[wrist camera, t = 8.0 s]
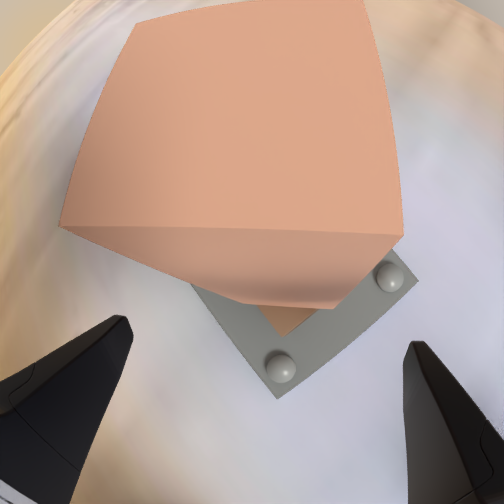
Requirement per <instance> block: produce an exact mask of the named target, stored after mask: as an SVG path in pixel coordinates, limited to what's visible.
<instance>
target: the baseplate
mask: <svg viewBox="0 0 504 504" xmlns="http://www.w3.org/2000/svg"><path fill="white" fill-rule="evenodd" d="M418 281H419V280H418V279H417V278H416V277H415V276H414V274H413V273H412V272H411V271H410V269H409V268H408V267H407V266H406V265H405V263H404V262H403V261H402V260H401V259H400V258H399V256H398V255H397V254H396V253H395V252H394V251H393V249H391V250H390V251H389V252H388V253H387V254H386V255H385V256H384V257H383V259H382V260H381V261H380V262H379V263H378V264H377V265H376V266H375V267H374V268H373V269H372V270H371V271H370V272H369V273H368V274H367V276H366V277H365V278H364V279H363V280H362V281H361V282H360V283H359V284H358V285H357V286H356V287H355V288H354V289H353V290H352V291H351V292H350V293H349V294H348V295H347V296H346V297H345V298H344V299H343V300H342V301H341V302H340V303H339V304H338V305H337V306H336V307H335V308H334V309H319V310H318V311H317V312H315V313H314V314H313V315H312V316H310V317H309V318H308V319H307V320H305V321H304V322H303V323H302V324H301V325H299V326H298V327H297V328H295V329H294V330H293V331H292V332H290V333H289V334H288V335H287V336H284V337H281V336H280V335H279V333H278V332H277V331H276V330H275V328H274V327H273V326H272V325H271V323H270V322H269V321H268V320H267V318H266V317H265V316H264V314H263V313H262V312H261V311H260V309H259V308H258V307H257V305H255V304H243V303H240V302H237V301H235V300H232V299H229V298H227V297H224V296H221V295H219V294H216V293H214V292H211V291H209V290H206V289H203V288H201V287H198V286H196V285H193V284H191V283H190V284H191V285H192V287H193V288H194V290H195V291H196V292H197V294H198V295H199V297H200V298H201V299H202V301H203V302H204V304H205V305H206V306H207V308H208V309H209V311H210V312H211V313H212V315H213V316H214V318H215V319H216V320H217V322H218V323H219V324H220V326H221V327H222V329H223V330H224V331H225V333H226V334H227V335H228V337H229V338H230V339H231V341H232V342H233V343H234V345H235V346H236V347H237V349H238V350H239V351H240V353H241V354H242V355H243V357H244V358H245V359H246V361H247V362H248V363H249V364H250V366H251V367H252V368H253V370H254V371H255V372H256V373H257V375H258V376H259V377H260V379H261V380H262V381H263V382H264V384H265V385H266V386H267V387H268V389H269V390H270V391H271V392H272V394H273V395H274V396H275V397H276V399H279V398H280V397H282V396H283V395H284V394H286V393H287V392H289V391H290V390H291V389H293V388H294V387H295V386H297V385H298V384H300V383H301V382H302V381H304V380H305V379H306V378H308V377H309V376H310V375H312V374H313V373H314V372H315V371H317V370H318V369H319V368H321V367H322V366H323V365H324V364H326V363H327V362H328V361H330V360H331V359H332V358H333V357H335V356H336V355H337V354H338V353H339V352H341V351H342V350H343V349H344V348H346V347H347V346H348V345H349V344H350V343H352V342H353V341H354V340H355V339H356V338H357V337H359V336H360V335H361V334H362V333H363V332H364V331H366V330H367V329H368V328H369V327H370V326H371V325H372V324H374V323H375V322H376V321H377V320H378V319H379V318H380V317H381V316H382V315H384V314H385V313H386V312H387V311H388V310H389V309H390V308H391V307H392V306H393V305H394V304H395V303H397V302H398V301H399V300H400V299H401V298H402V297H403V296H404V295H405V294H406V293H407V292H408V291H409V290H410V289H411V288H412V287H413V286H414V285H415V284H416V283H417V282H418Z"/></svg>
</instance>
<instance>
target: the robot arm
mask: <svg viewBox="0 0 504 504" xmlns="http://www.w3.org/2000/svg"><path fill="white" fill-rule="evenodd" d="M132 342H133V332H132V329H131V327H130V324H129V321H128V319H127V318H126V316H122V315H113V316H112V317H110V318H108V319H107V320H105V321H103V322H101V323H100V324H98V325H96V326H95V327H93V328H91V329H90V330H88V331H86V332H85V333H83V334H81V335H80V336H78V337H76V338H74V339H73V340H71V341H69V342H68V343H66V344H64V345H63V346H61V347H59V348H58V349H56V350H54V351H53V352H51V353H49V354H48V355H46V356H44V357H43V358H41V359H39V360H38V361H36V362H34V363H33V364H31V365H30V366H28V367H26V368H24V369H23V370H21V371H19V372H18V373H16V374H14V375H12V376H10V377H8V378H6V379H4V380H2V381H0V504H69V503H70V501H71V498H72V495H73V492H74V490H75V487H76V484H77V481H78V479H79V476H80V473H81V470H82V468H83V465H84V463H85V460H86V458H87V455H88V452H89V450H90V447H91V445H92V443H93V440H94V438H95V435H96V433H97V430H98V428H99V425H100V423H101V421H102V418H103V416H104V414H105V411H106V409H107V407H108V404H109V402H110V400H111V397H112V395H113V393H114V391H115V388H116V386H117V384H118V382H119V379H120V377H121V374H122V371H123V369H124V365H125V362H126V359H127V356H128V354H129V351H130V348H131V345H132ZM403 413H404V425H405V437H406V451H407V471H408V504H504V440H503V439H502V437H501V436H500V435H499V433H498V432H497V431H496V430H495V428H494V427H493V426H492V424H491V423H490V422H489V420H488V419H487V420H486V417H485V415H484V414H483V413H482V411H481V410H480V409H479V407H478V406H477V405H476V404H475V402H474V401H473V400H472V398H471V397H470V396H469V395H468V393H467V392H466V391H465V390H464V388H463V387H462V386H461V385H460V383H459V382H458V381H457V380H456V378H455V377H454V376H453V375H452V373H451V372H450V371H449V370H448V369H447V367H446V366H445V365H444V364H443V363H442V361H441V360H440V359H439V358H438V357H437V355H436V354H435V353H434V352H433V351H432V349H431V348H430V347H429V346H428V345H427V344H426V343H425V342H424V341H412V342H411V343H410V344H409V347H408V350H407V352H406V355H405V358H404V361H403Z"/></svg>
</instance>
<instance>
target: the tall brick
mask: <svg viewBox="0 0 504 504" xmlns="http://www.w3.org/2000/svg"><path fill="white" fill-rule="evenodd" d="M59 227H61V228H63V229H65V230H67V231H70V232H72V233H74V234H76V235H78V236H81V237H83V238H85V239H87V240H89V241H92V242H94V243H96V244H98V245H101V246H103V247H105V248H107V249H110V250H112V251H114V252H116V253H119V254H121V255H123V256H126V257H128V258H130V259H133V260H135V261H137V262H140V263H142V264H145V265H147V266H149V267H152V268H154V269H156V270H159V271H161V272H164V273H166V274H169V275H171V276H173V277H176V278H178V279H181V280H183V281H186V282H188V283H191V284H193V285H196V286H198V287H201V288H203V289H206V290H209V291H211V292H214V293H216V294H219V295H221V296H224V297H227V298H229V299H232V300H235V301H237V302H240V303H243V304H255V305H268V306H283V307H299V308H317V309H334V308H335V307H336V306H337V305H338V304H339V303H340V302H341V301H342V300H343V299H344V298H345V297H346V296H347V295H348V294H349V293H350V292H351V291H352V290H353V289H354V288H355V287H356V286H357V285H358V284H359V283H360V282H361V281H362V280H363V279H364V278H365V277H366V276H367V274H368V273H369V272H370V271H371V270H372V269H373V268H374V267H375V266H376V265H377V264H378V263H379V262H380V261H381V260H382V259H383V257H384V256H385V255H386V254H387V253H388V252H389V251H390V250H391V249H392V248H393V247H394V245H395V244H396V243H397V242H398V241H399V240H400V239H401V238H402V237H403V235H404V232H403V213H402V199H401V187H400V177H399V167H398V159H397V151H396V143H395V136H394V130H393V123H392V117H391V112H390V106H389V101H388V96H387V90H386V86H385V81H384V76H383V72H382V67H381V63H380V59H379V55H378V51H377V47H376V43H375V40H374V36H373V32H372V29H371V25H370V22H369V19H368V15H367V12H366V9H365V6H364V3H363V0H256V1H246V2H237V3H230V4H222V5H216V6H210V7H204V8H199V9H193V10H188V11H184V12H179V13H175V14H170V15H166V16H162V17H158V18H154V19H151V20H147V21H143V22H140V23H136V25H135V26H134V28H133V30H132V32H131V34H130V35H129V37H128V39H127V41H126V43H125V45H124V47H123V49H122V51H121V53H120V55H119V57H118V59H117V61H116V63H115V65H114V67H113V69H112V71H111V73H110V75H109V77H108V80H107V82H106V84H105V86H104V88H103V91H102V93H101V95H100V98H99V100H98V103H97V105H96V107H95V110H94V112H93V115H92V117H91V120H90V123H89V125H88V128H87V131H86V133H85V136H84V139H83V142H82V145H81V148H80V151H79V154H78V157H77V160H76V163H75V166H74V169H73V173H72V176H71V179H70V183H69V186H68V190H67V193H66V197H65V201H64V205H63V209H62V213H61V217H60V221H59Z"/></svg>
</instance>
